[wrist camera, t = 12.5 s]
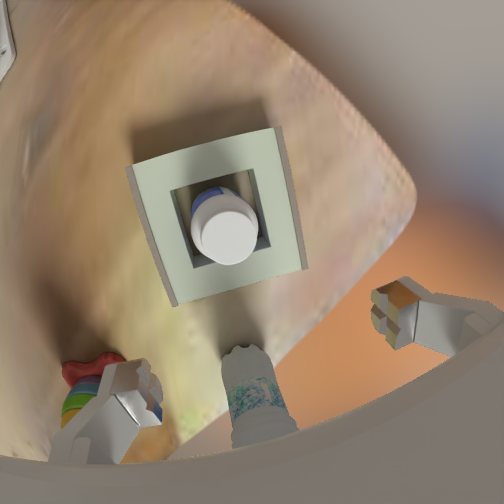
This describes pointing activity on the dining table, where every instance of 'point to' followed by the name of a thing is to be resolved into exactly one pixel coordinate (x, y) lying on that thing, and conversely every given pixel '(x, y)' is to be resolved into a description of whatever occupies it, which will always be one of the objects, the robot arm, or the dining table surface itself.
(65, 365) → the stacking bear
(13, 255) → the dining table surface
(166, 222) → the holed board
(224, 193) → the pill bottle
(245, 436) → the bottle
